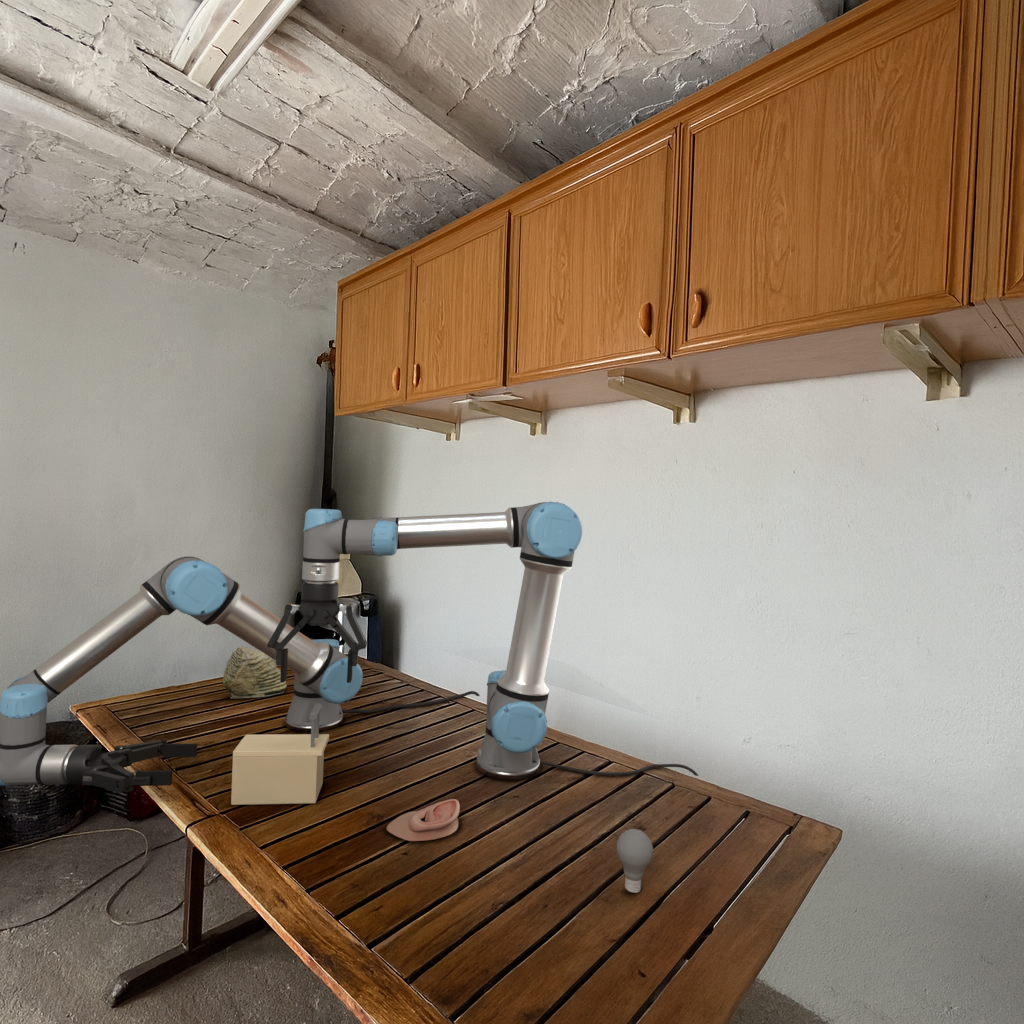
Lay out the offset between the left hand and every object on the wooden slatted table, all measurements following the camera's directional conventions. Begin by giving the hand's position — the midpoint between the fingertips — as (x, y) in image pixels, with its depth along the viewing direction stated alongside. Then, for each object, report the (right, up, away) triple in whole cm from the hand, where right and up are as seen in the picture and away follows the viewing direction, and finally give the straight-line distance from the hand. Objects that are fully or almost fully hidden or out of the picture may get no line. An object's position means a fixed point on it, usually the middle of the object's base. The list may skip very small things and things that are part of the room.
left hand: (184, 763), depth 132 cm
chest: (+19, -8, +3) cm, 20 cm away
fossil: (-13, -5, +66) cm, 68 cm away
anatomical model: (+51, -9, -8) cm, 52 cm away
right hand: (+26, +16, +3) cm, 31 cm away
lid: (+19, +2, +3) cm, 20 cm away
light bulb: (+88, -11, -26) cm, 93 cm away
